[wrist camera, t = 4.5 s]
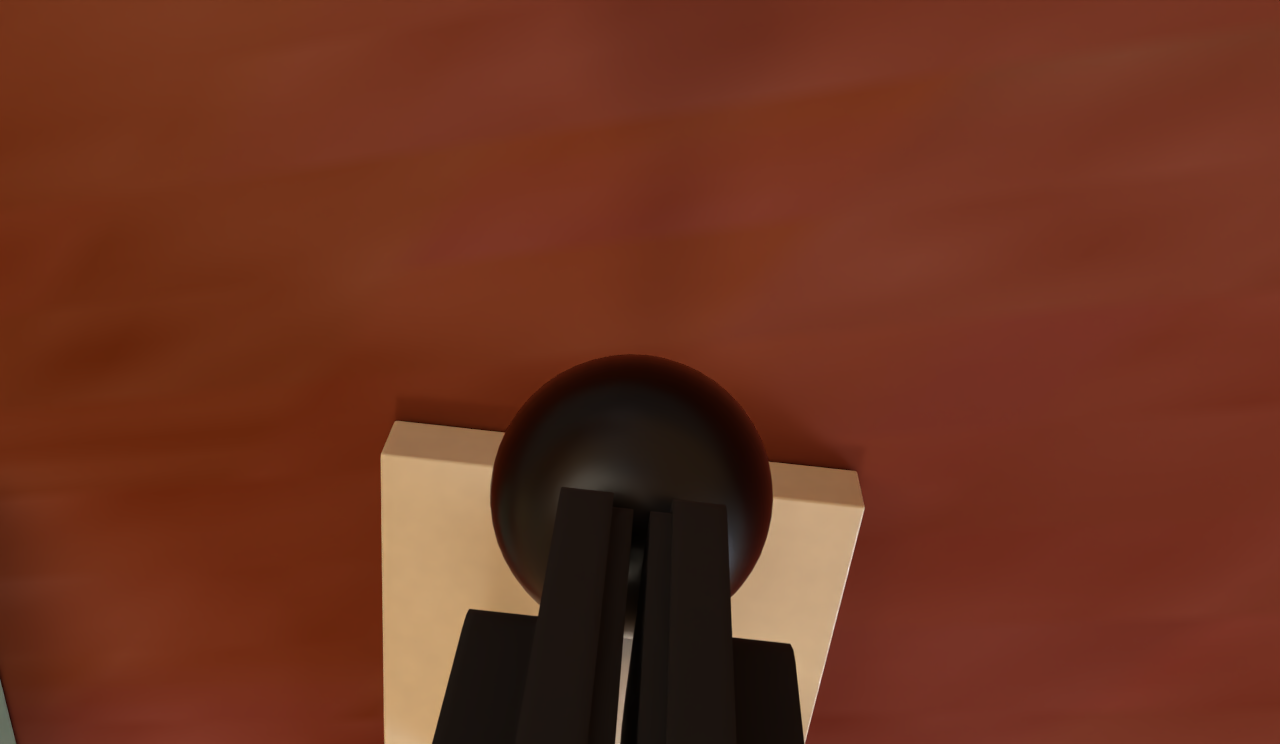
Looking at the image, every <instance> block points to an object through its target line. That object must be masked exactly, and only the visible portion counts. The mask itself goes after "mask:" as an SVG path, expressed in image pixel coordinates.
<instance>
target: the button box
mask: <svg viewBox="0 0 1280 744" xmlns="http://www.w3.org/2000/svg"><path fill="white" fill-rule="evenodd" d="M0 744H16V741H15V737H14V733H13V729H12V725H11V721H10V717H9V713H8V709H7V705H6V701H5V697H4V693H3V689H2V685H1V681H0Z"/></svg>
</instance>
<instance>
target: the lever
mask: <svg viewBox="0 0 1280 744" xmlns="http://www.w3.org/2000/svg"><path fill="white" fill-rule="evenodd" d="M561 487H568V488H577V489H586V490H595V491H604V492H613V493H614V498H613V507H618V508H628V509H633V524H632V536H631V549H630V562H629V574H628V587H627V600H626V612H625V625H624V638H623V650H622V663H621V675H620V688H619V701H618V713H617V726H616V739H615V744H620V740H621V729H622V718H623V709H624V701H625V694H626V686H627V679H628V671H629V664H630V656H631V649H632V642H633V634H634V627H635V619H636V612H637V605H638V597H639V590H640V582H641V575H642V567H643V560H644V553H645V545H646V538H647V530H648V523H649V516H650V512H651V511H655V512H664V513H670V510H671V504H672V501H673V499H677V500H686V501H695V502H704V503H713V504H722V505H726V507H727V521H728V545H729V569H730V593H731V597H732V596H733V595H734V594H735V593H736V592H737V591H738V590H739V588H740V587H741V586H742V585H743V584H744V582H745V581H746V579H747V578H748V576H749V575H750V574H751V572H752V571H753V569H754V567H755V565H756V563H757V561H758V559H759V558H760V556H761V553H762V550H763V547H764V545H765V542H766V539H767V536H768V532H769V527H770V522H771V518H772V507H773V488H772V476H771V471H770V466H769V461H768V457H767V454H766V451H765V448H764V445H763V443H762V440H761V438H760V436H759V434H758V432H757V430H756V428H755V427H754V425H753V423H752V421H751V420H750V418H749V417H748V416H747V414H746V413H745V411H744V410H743V408H742V407H741V406H740V405H739V404H738V402H737V401H736V400H735V399H734V398H733V397H732V396H731V395H730V394H729V393H728V392H727V391H726V390H725V389H723V388H722V387H721V386H720V385H719V384H717V383H716V382H715V381H713V380H712V379H710V378H709V377H707V376H705V375H704V374H702V373H701V372H699V371H697V370H695V369H692V368H690V367H688V366H686V365H684V364H681V363H678V362H675V361H671V360H668V359H665V358H660V357H654V356H649V355H632V354H628V355H616V356H609V357H604V358H599V359H594V360H591V361H588V362H585V363H583V364H580V365H577V366H574V367H572V368H571V369H569V370H567V371H565V372H563V373H561V374H559V375H557V376H556V377H554V378H553V379H551V380H550V381H549V382H547V383H546V384H544V385H543V386H542V387H541V388H540V389H539V390H538V391H536V392H535V393H534V394H533V395H532V396H531V397H530V398H529V399H528V401H527V402H526V403H525V404H524V405H523V406H522V408H521V409H520V410H519V411H518V413H517V414H516V416H515V417H514V419H513V420H512V422H511V423H510V425H509V426H508V428H507V430H506V432H505V434H504V436H503V439H502V441H501V443H500V445H499V448H498V452H497V455H496V458H495V461H494V466H493V471H492V478H491V484H490V508H491V516H492V523H493V528H494V532H495V536H496V539H497V543H498V546H499V548H500V551H501V553H502V555H503V558H504V560H505V562H506V563H507V565H508V567H509V569H510V570H511V572H512V574H513V575H514V577H515V578H516V580H517V581H518V582H519V583H520V585H521V586H522V587H523V589H524V590H525V591H526V592H527V593H528V594H529V595H530V596H531V597H532V598H533V599H534V600H535V601H536V602H537V603H538V604H539V605H540V602H541V596H542V591H543V585H544V579H545V574H546V568H547V562H548V557H549V551H550V546H551V540H552V534H553V529H554V523H555V518H556V512H557V506H558V501H559V495H560V490H561Z"/></svg>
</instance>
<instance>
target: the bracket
mask: <svg viewBox="0 0 1280 744" xmlns="http://www.w3.org/2000/svg"><path fill="white" fill-rule="evenodd" d="M504 434H505V432H496V431H486V430H477V429H468V428H459V427H450V426H441V425H432V424H423V423H414V422H405V421H395V422H394V424H393V427H392V429H391V431H390V434H389V436H388V439H387V441H386V443H385V446H384V448H383V450H382V453H381V455H380V457H381V534H382V611H383V688H384V744H432V742H433V738H434V734H435V730H436V726H437V722H438V718H439V715H440V711H441V707H442V703H443V699H444V695H445V692H446V688H447V684H448V680H449V676H450V672H451V669H452V665H453V661H454V657H455V653H456V649H457V646H458V642H459V638H460V634H461V630H462V626H463V623H464V620H465V617H466V614H467V612H468V610H469V609H476V610H485V611H495V612H504V613H513V614H522V615H531V616H538V613H539V607H540V605H539V604H538V603H537V602H536V601H535V600H534V599H533V598H532V597H531V596H530V595H529V594H528V593H527V592H526V591H525V590H524V589H523V587H522V586H521V585H520V583H519V582H518V581H517V580H516V578H515V577H514V575H513V574H512V572H511V570H510V569H509V567H508V565H507V563H506V562H505V560H504V558H503V555H502V553H501V551H500V548H499V546H498V543H497V539H496V536H495V532H494V528H493V523H492V516H491V508H490V484H491V478H492V471H493V466H494V461H495V458H496V455H497V452H498V448H499V445H500V443H501V441H502V439H503V436H504ZM769 466H770V471H771V476H772V488H773V507H772V518H771V522H770V527H769V532H768V536H767V539H766V542H765V545H764V547H763V550H762V553H761V556H760V558H759V559H758V561H757V563H756V565H755V567H754V569H753V571H752V572H751V574H750V575H749V576H748V578H747V579H746V581H745V582H744V584H743V585H742V586H741V587H740V588H739V590H738V591H737V592H736V593H735V594H734V595H733V596H732V597H731V617H732V637H734V638H743V639H752V640H761V641H771V642H780V643H789V644H791V646H792V648H793V650H794V656H795V662H796V671H797V680H798V689H799V699H800V708H801V717H802V726H803V735H804V744H805V741H806V737H807V733H808V729H809V725H810V722H811V718H812V714H813V710H814V706H815V702H816V698H817V694H818V690H819V686H820V682H821V678H822V674H823V670H824V667H825V663H826V659H827V655H828V651H829V647H830V643H831V639H832V635H833V631H834V627H835V623H836V619H837V615H838V612H839V608H840V604H841V600H842V596H843V592H844V588H845V584H846V580H847V576H848V572H849V568H850V564H851V561H852V557H853V553H854V549H855V545H856V541H857V537H858V533H859V529H860V525H861V521H862V517H863V513H864V509H865V506H864V502H863V497H862V493H861V488H860V483H859V479H858V474H857V472H856V471H850V470H841V469H832V468H823V467H814V466H805V465H796V464H787V463H778V462H769Z"/></svg>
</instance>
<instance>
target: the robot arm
mask: <svg viewBox="0 0 1280 744" xmlns="http://www.w3.org/2000/svg"><path fill="white" fill-rule="evenodd" d="M613 498H614V493H613V492H604V491H595V490H586V489H577V488H568V487H561V490H560V495H559V501H558V506H557V512H556V518H555V523H554V529H553V534H552V540H551V546H550V551H549V557H548V562H547V568H546V574H545V579H544V585H543V591H542V596H541V602H540V607H539V613H538V616H531V615H522V614H513V613H504V612H495V611H485V610H476V609H469V610H468V612H467V614H466V617H465V620H464V623H463V626H462V630H461V634H460V638H459V642H458V646H457V649H456V653H455V657H454V661H453V665H452V669H451V672H450V676H449V680H448V684H447V688H446V692H445V695H444V699H443V703H442V707H441V711H440V715H439V718H438V722H437V726H436V730H435V734H434V738H433V742H432V744H615V739H616V726H617V713H618V701H619V688H620V675H621V663H622V650H623V638H624V625H625V612H626V600H627V587H628V574H629V562H630V549H631V536H632V524H633V509H628V508H618V507H613ZM620 744H804V735H803V726H802V717H801V708H800V699H799V689H798V680H797V671H796V662H795V656H794V650H793V648H792V646H791V644H789V643H780V642H771V641H761V640H752V639H743V638H734V637H732V617H731V593H730V569H729V545H728V521H727V507H726V505H722V504H713V503H704V502H695V501H686V500H677V499H673V501H672V504H671V510H670V513H664V512H655V511H651V512H650V516H649V523H648V530H647V538H646V545H645V553H644V560H643V567H642V575H641V582H640V590H639V597H638V605H637V612H636V619H635V627H634V634H633V642H632V649H631V656H630V664H629V671H628V679H627V686H626V694H625V701H624V709H623V718H622V729H621V740H620Z"/></svg>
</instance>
